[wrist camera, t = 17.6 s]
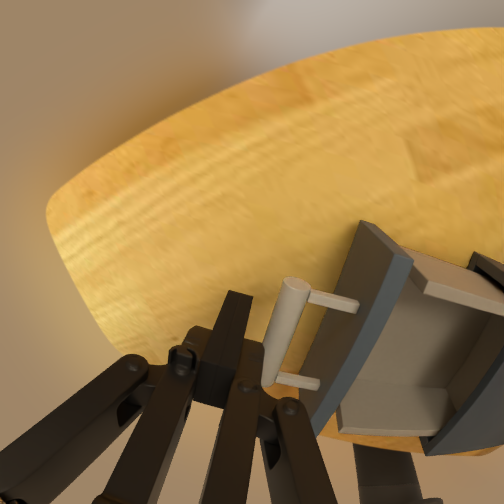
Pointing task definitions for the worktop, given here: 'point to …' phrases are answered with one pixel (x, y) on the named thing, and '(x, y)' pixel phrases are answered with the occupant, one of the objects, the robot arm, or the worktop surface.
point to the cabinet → (476, 397)
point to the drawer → (389, 340)
